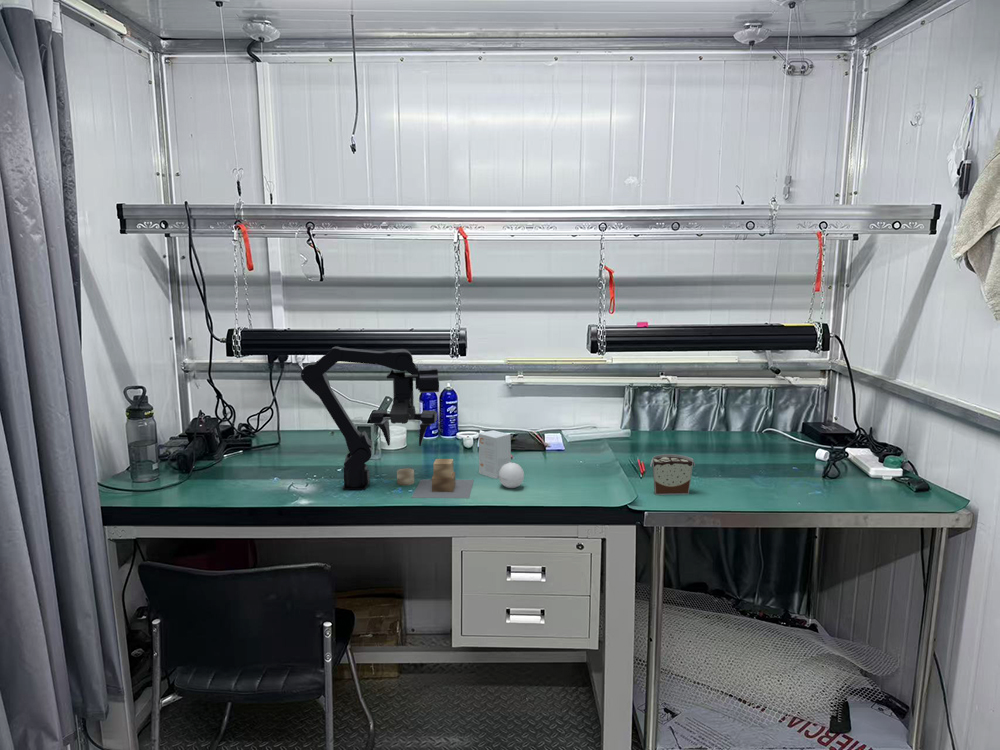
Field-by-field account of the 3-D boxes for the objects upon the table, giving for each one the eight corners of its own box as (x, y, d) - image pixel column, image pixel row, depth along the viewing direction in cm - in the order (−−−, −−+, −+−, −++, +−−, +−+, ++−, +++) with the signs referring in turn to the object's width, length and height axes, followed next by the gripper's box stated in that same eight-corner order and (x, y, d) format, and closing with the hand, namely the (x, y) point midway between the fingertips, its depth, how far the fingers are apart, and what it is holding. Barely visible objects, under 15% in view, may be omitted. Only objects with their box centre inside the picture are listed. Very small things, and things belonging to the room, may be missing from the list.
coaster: (411, 498, 174) (411, 497, 174) (420, 480, 190) (420, 479, 190) (469, 499, 173) (469, 498, 173) (474, 480, 189) (474, 479, 189)
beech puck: (395, 486, 185) (395, 473, 184) (399, 481, 190) (398, 468, 189) (412, 486, 184) (412, 473, 184) (415, 481, 189) (415, 468, 189)
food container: (687, 487, 182) (688, 453, 181) (694, 494, 176) (695, 459, 175) (644, 487, 182) (645, 453, 180) (650, 494, 176) (651, 460, 174)
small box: (511, 475, 194) (511, 434, 192) (496, 480, 190) (496, 437, 188) (493, 469, 200) (493, 429, 198) (478, 474, 196) (477, 433, 194)
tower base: (432, 491, 179) (431, 478, 178) (435, 484, 185) (434, 471, 184) (453, 491, 178) (452, 478, 178) (455, 485, 184) (455, 471, 184)
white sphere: (523, 483, 186) (523, 459, 185) (524, 491, 179) (524, 466, 178) (489, 483, 187) (489, 459, 185) (489, 491, 179) (488, 466, 178)
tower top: (433, 477, 179) (433, 463, 178) (436, 472, 184) (435, 458, 183) (451, 477, 178) (451, 464, 178) (453, 472, 183) (453, 458, 183)
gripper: (364, 397, 175) (366, 452, 178) (431, 398, 174) (432, 453, 177) (373, 390, 186) (375, 442, 189) (436, 391, 185) (437, 443, 188)
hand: (404, 445), depth 185 cm, fingers open, 9 cm apart
